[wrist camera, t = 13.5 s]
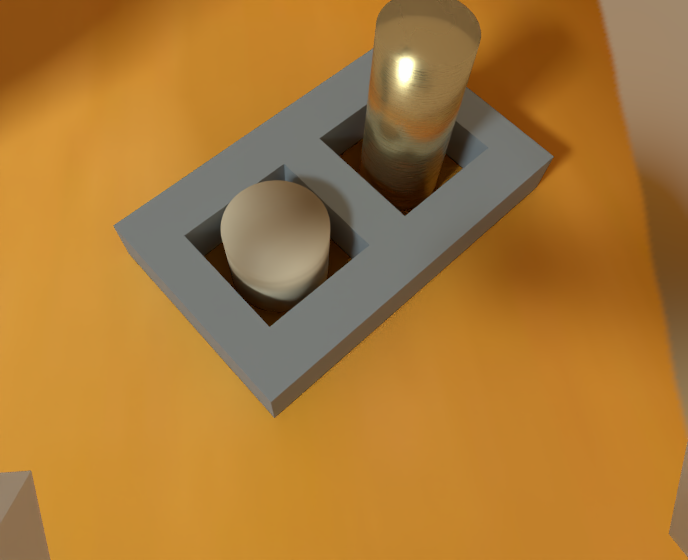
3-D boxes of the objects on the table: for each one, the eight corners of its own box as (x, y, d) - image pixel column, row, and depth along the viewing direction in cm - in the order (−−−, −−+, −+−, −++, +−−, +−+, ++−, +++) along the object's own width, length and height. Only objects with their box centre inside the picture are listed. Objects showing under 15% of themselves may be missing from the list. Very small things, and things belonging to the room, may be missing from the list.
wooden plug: (211, 263, 34) (198, 222, 30) (285, 208, 36) (281, 162, 32) (274, 331, 33) (269, 296, 29) (348, 270, 34) (352, 230, 30)
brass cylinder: (343, 173, 37) (354, 24, 27) (397, 132, 39) (426, -23, 29) (397, 224, 36) (430, 86, 26) (451, 179, 37) (502, 33, 27)
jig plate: (129, 253, 34) (113, 225, 32) (391, 68, 41) (397, 31, 38) (274, 417, 31) (270, 402, 28) (536, 187, 37) (553, 156, 35)
